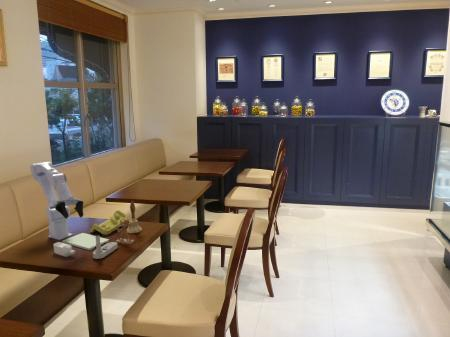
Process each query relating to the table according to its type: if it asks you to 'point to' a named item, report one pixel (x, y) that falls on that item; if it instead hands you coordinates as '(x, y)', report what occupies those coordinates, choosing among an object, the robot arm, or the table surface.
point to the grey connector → (63, 249)
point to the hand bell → (133, 221)
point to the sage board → (84, 241)
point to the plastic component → (109, 223)
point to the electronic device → (103, 248)
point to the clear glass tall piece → (122, 240)
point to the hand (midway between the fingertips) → (74, 216)
